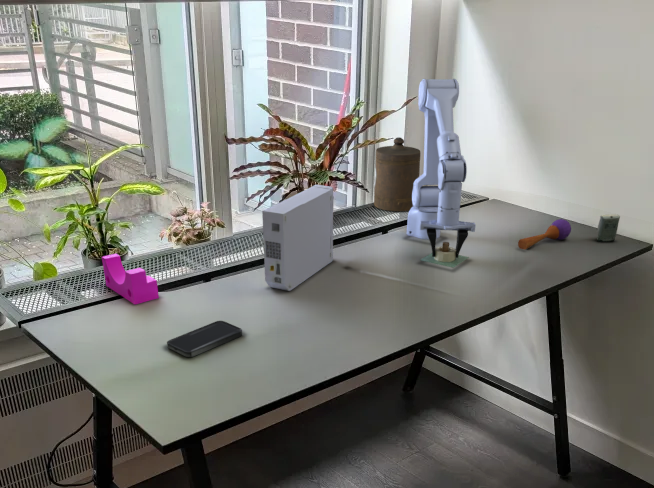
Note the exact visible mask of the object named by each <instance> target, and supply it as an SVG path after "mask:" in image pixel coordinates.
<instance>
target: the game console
mask: <svg viewBox="0 0 654 488" xmlns="http://www.w3.org/2000/svg"><path fill="white" fill-rule="evenodd" d="M261 213H262V214H261V215H262V235H263V236H262V237H263V259H264V261H263V262H264V263H263V264H264V281H265V283H266V284H267V286H268V287H269V288H273V289H276V290H277V289H278V290H282V291H288V292H291V291H292V290H293V289H295V288H296V287H298V286H299V285H300V284H302V283H304V281H306V280H308V279H309V278H310V277H312V276H313V275H315V274H316V273H318V272H319V271H320V270H322V269H323V268H325V267H326V266H328V265H329V264H330V263H332V262H333V261H334V187H333V186H329V185H323V184H314V185H312V186H310V187H309V188H307V189H304V190H302V191H301V192H298V193H295V194H294V195H292V196H290V197H288V198H286V199H284V200H282V201H280V202H277V203H276V204H274V205H272V206H270V207H268V208H265V209H262V210H261Z"/></svg>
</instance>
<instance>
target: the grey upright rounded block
mask: <svg viewBox="0 0 654 488" xmlns="http://www.w3.org/2000/svg"><path fill="white" fill-rule="evenodd" d="M620 218H621V215H620V214H616V213H615V214H611V213H610V214H601V215H600V216H599V221H598V225H597V231H596V232H597V233H596V242H597V243H608V242H609V243H610V242H615V240H616V237H617V233H618V228H619V223H620Z"/></svg>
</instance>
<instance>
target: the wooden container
mask: <svg viewBox="0 0 654 488" xmlns="http://www.w3.org/2000/svg"><path fill="white" fill-rule="evenodd" d="M404 144H405V140H404V139H403V138H402V137H399V136H398V137H395V138H394V139H393V145H385V146H380V147H377V148H376V149H375V168H374V169H375V170H374V189H373V206H374V207H375V208H377V209H379V210H383V211H388V212H407V211H408V212H409V211H410V209H411V208H412V207H413V203H412V191H413V184H414V181H415V180H416V179H417V178H418V177H420V174H421V173H420V170H421V150H420V149H419V148H416V147H413V146H407V145H406V146H405V145H404Z"/></svg>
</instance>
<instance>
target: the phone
mask: <svg viewBox="0 0 654 488" xmlns="http://www.w3.org/2000/svg"><path fill="white" fill-rule="evenodd" d="M242 336H243V329H242V328H241V327H238V326H236V325H234V324H231V323H229V322H227V321H225V320H216V321H214V322H213V321H212V322H211V323H208V324H206V325H204V326H201V327H199V328H196V329H194V330H191V331H187V332H186V333H184V334H181V335H179V336H176V337H173V338H171V339H168V340H167V341H166V345H167V348H168V349H169V350H171V351H173V352H176V353H177V354H179V355H181V356H183V357H185V358H193V357H195V356H198V355H200V354H202V353H205V352H207V351H210V350H212V349H214V348H217V347H219V346H221V345H223V344H226V343H228V342H230V341H233V340H235V339H237V338H240V337H242Z"/></svg>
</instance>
